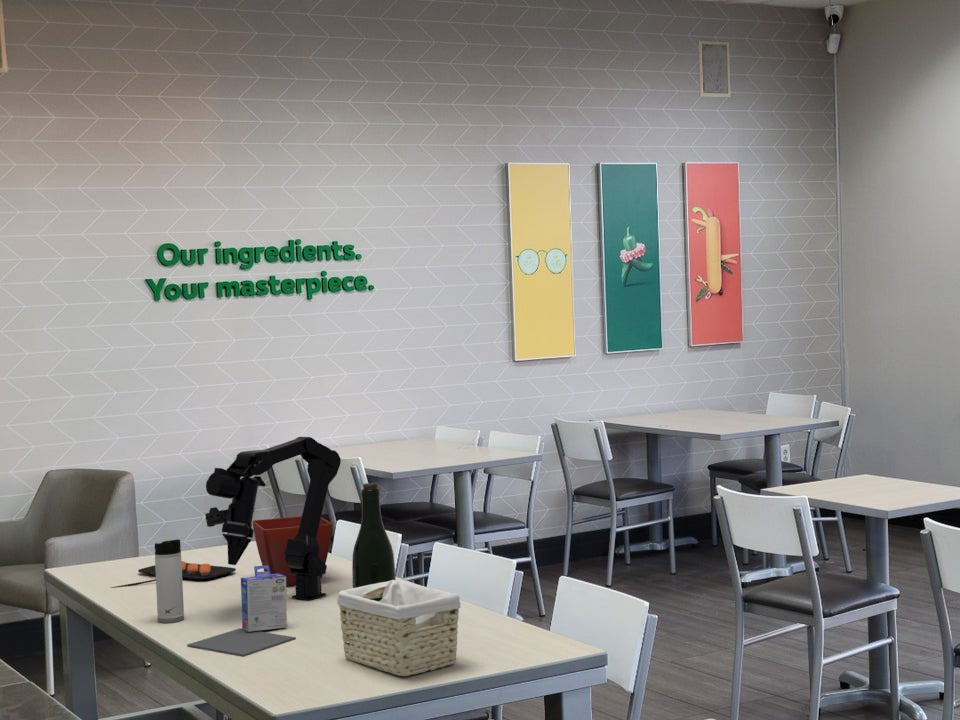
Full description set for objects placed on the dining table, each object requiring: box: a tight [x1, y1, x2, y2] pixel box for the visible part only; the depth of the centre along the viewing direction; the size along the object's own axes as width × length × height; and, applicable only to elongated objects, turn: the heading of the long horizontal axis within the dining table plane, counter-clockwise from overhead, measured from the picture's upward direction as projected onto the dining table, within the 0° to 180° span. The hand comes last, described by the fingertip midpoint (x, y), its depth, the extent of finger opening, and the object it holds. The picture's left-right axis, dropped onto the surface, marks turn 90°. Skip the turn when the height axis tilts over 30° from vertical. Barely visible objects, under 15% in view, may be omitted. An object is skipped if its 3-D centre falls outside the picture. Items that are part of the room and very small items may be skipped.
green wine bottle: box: [351, 482, 397, 602], centre depth 282 cm, size 10×10×33 cm
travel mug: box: [154, 538, 185, 624], centre depth 291 cm, size 6×7×20 cm
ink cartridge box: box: [240, 565, 288, 632], centre depth 278 cm, size 10×6×14 cm, turn 120°
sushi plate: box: [110, 560, 237, 589], centre depth 342 cm, size 29×30×4 cm
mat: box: [186, 627, 297, 658], centre depth 267 cm, size 16×18×1 cm
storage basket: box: [336, 579, 461, 677], centre depth 247 cm, size 24×16×15 cm
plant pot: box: [251, 515, 333, 587], centre depth 332 cm, size 19×19×17 cm
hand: (232, 564), depth 291 cm, fingers open, 9 cm apart
